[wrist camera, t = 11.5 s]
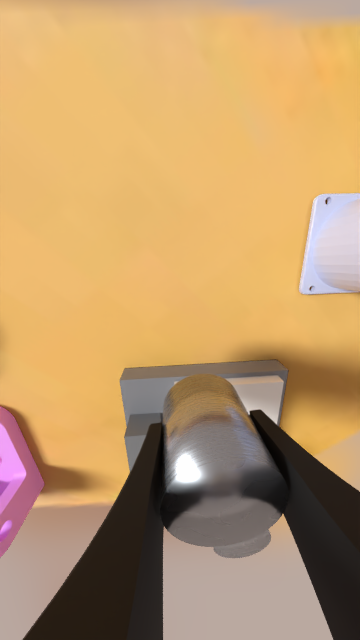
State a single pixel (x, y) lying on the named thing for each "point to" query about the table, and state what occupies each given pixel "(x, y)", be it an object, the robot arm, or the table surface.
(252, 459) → the cylinder
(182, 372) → the scale
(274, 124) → the table surface
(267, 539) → the cylinder
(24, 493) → the bracket
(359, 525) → the robot arm
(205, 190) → the table surface
